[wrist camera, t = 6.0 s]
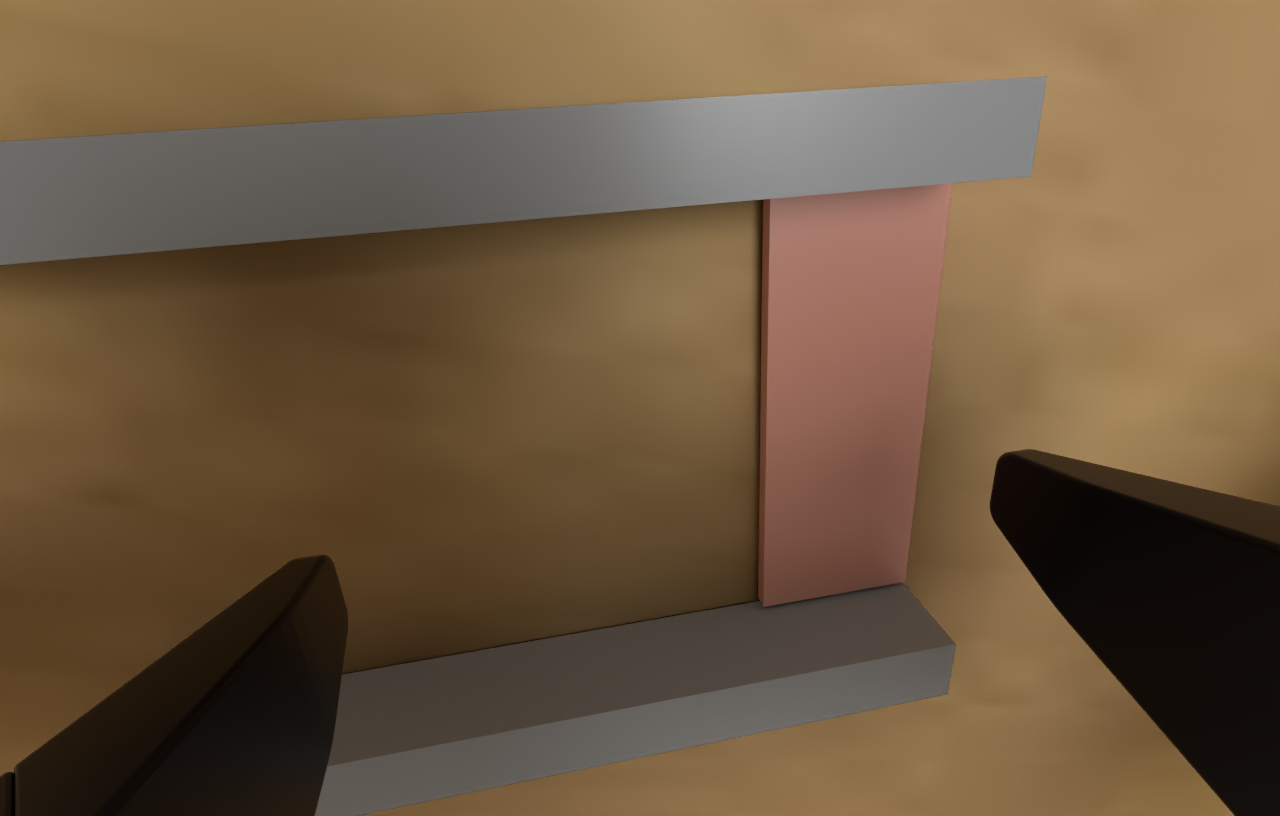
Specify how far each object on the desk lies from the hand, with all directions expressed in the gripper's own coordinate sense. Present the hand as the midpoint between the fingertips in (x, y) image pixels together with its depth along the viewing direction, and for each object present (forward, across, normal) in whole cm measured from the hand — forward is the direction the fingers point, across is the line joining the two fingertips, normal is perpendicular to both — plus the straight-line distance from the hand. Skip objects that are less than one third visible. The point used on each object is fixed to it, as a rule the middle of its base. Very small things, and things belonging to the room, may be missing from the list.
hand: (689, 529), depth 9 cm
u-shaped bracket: (+3, +2, 0) cm, 4 cm away
